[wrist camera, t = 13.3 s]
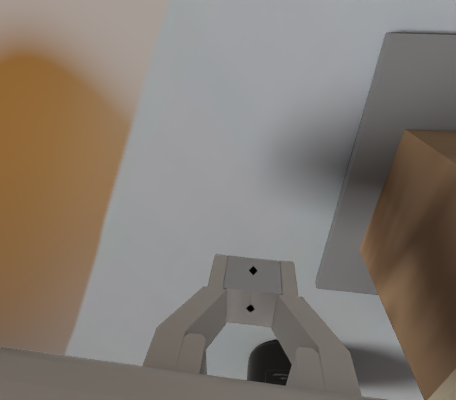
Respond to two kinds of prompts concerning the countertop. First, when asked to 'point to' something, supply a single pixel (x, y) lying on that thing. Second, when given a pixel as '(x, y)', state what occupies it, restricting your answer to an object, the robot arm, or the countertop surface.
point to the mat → (387, 143)
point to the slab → (419, 256)
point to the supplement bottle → (269, 364)
